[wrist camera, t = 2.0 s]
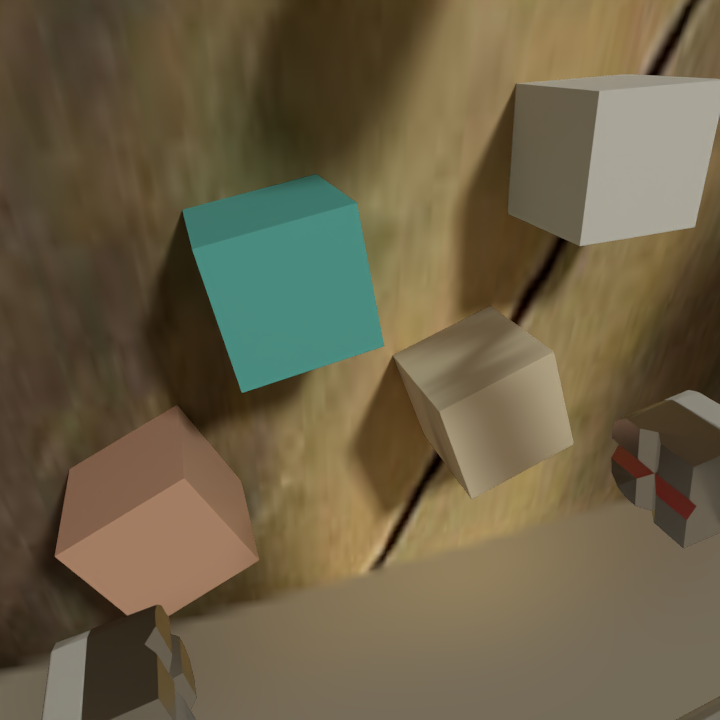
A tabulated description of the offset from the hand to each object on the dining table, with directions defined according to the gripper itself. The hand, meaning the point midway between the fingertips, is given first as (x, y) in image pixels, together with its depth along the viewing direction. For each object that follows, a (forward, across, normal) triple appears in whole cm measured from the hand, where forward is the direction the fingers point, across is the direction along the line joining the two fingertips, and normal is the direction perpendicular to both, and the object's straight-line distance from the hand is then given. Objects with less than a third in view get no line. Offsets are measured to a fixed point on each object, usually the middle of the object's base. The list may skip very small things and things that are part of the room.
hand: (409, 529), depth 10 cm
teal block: (+15, -1, 0) cm, 15 cm away
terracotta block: (+15, +6, +8) cm, 18 cm away
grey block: (+15, -14, -1) cm, 20 cm away
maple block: (+15, -8, +8) cm, 19 cm away
